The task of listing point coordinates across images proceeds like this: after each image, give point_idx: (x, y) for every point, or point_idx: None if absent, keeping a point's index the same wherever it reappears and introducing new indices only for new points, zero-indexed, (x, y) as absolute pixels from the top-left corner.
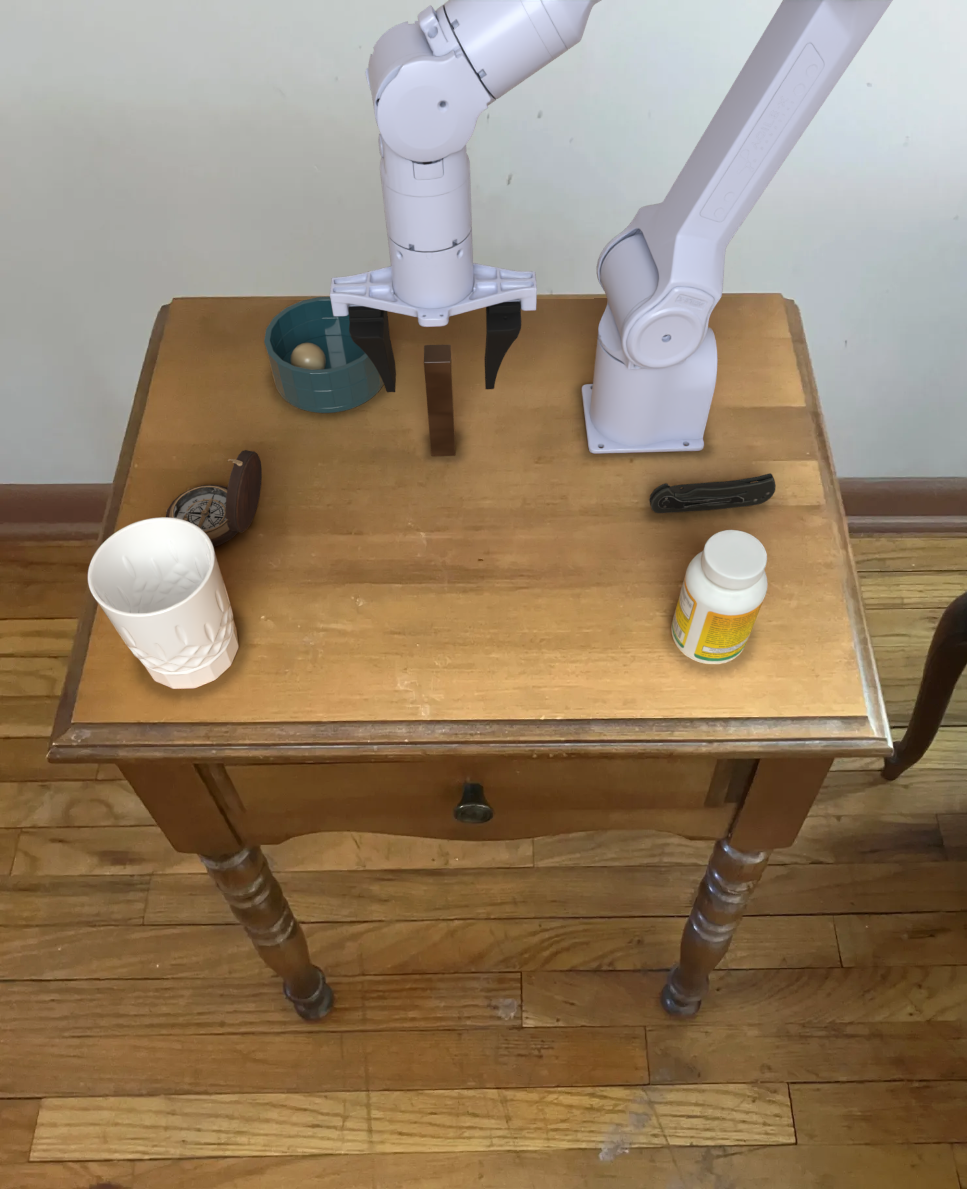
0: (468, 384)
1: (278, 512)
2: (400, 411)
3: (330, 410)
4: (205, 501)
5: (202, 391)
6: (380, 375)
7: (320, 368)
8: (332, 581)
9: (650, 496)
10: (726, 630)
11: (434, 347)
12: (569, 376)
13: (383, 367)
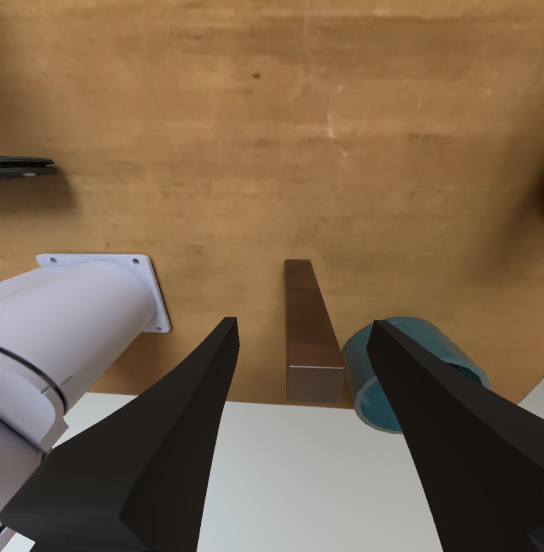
0: (271, 339)
1: (506, 180)
2: (334, 315)
3: (403, 319)
4: None
5: (516, 346)
6: (421, 346)
7: None
8: (479, 23)
9: (42, 169)
10: None
11: (319, 398)
12: (185, 341)
13: (431, 362)
